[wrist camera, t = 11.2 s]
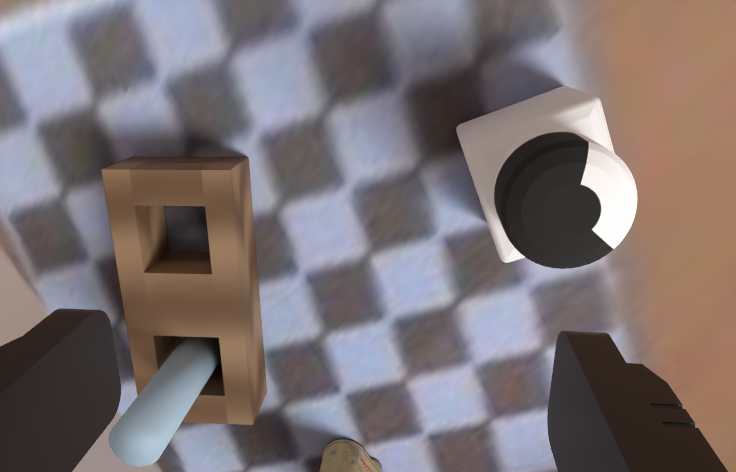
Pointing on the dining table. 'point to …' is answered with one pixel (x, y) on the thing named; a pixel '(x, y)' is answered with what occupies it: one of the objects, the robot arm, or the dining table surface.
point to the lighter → (347, 458)
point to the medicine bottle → (550, 179)
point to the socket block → (190, 276)
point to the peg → (164, 402)
